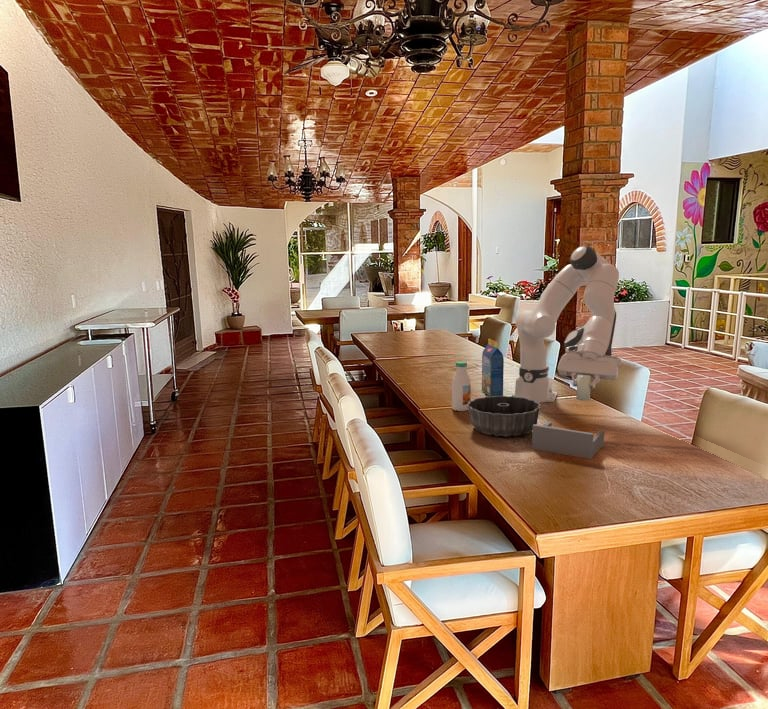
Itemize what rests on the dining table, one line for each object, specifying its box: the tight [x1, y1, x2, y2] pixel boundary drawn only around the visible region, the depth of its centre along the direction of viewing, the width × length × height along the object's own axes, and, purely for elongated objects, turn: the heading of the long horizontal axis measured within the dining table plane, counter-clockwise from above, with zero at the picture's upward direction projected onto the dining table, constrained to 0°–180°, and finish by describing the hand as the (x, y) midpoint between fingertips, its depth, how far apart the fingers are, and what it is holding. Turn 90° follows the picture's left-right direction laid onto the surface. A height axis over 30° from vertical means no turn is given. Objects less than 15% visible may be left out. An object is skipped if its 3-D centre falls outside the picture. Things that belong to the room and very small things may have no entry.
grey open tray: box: [531, 421, 605, 460], centre depth 187 cm, size 16×19×8 cm
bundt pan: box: [467, 395, 542, 438], centre depth 206 cm, size 26×26×10 cm
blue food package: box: [481, 338, 505, 397], centre depth 257 cm, size 6×12×25 cm, turn 9°
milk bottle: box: [451, 360, 472, 412], centre depth 233 cm, size 8×8×20 cm
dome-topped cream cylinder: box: [575, 374, 592, 402], centre depth 197 cm, size 4×4×8 cm
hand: (583, 386), depth 196 cm, fingers closed on dome-topped cream cylinder, 4 cm apart
